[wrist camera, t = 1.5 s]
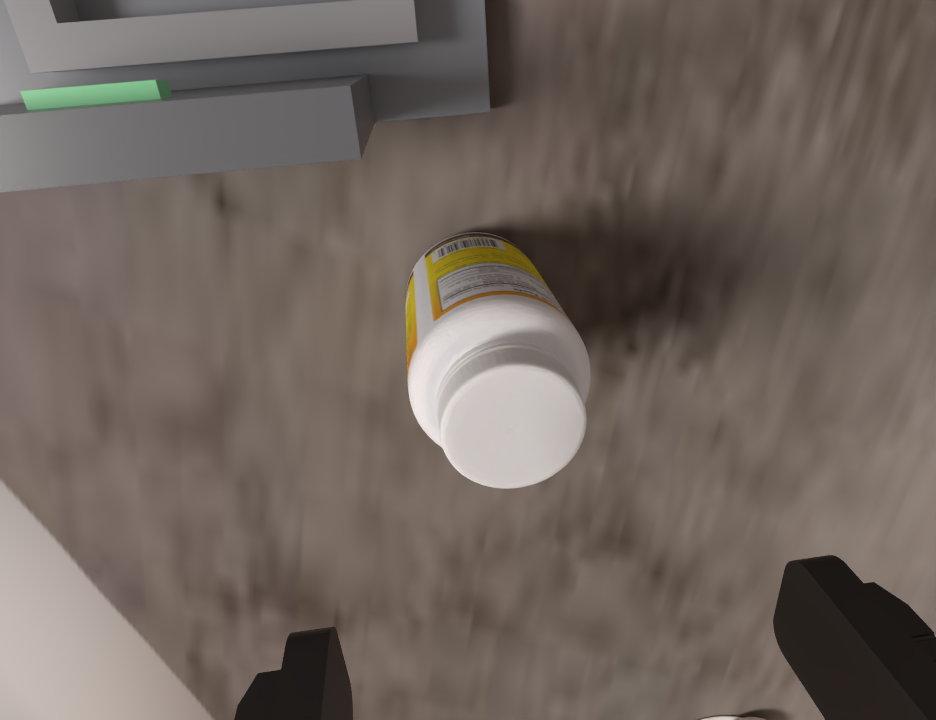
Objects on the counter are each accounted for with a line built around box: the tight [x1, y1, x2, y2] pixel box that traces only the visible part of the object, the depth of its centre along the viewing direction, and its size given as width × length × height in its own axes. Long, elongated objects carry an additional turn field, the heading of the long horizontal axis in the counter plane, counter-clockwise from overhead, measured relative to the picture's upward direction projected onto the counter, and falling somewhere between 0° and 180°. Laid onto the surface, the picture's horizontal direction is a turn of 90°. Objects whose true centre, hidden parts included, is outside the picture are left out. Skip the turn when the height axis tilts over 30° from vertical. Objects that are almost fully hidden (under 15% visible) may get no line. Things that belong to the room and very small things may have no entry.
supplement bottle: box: [405, 232, 591, 488], centre depth 20 cm, size 6×6×10 cm
